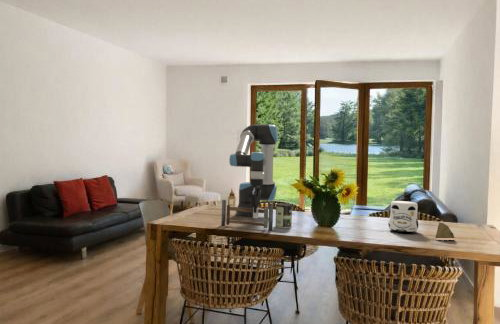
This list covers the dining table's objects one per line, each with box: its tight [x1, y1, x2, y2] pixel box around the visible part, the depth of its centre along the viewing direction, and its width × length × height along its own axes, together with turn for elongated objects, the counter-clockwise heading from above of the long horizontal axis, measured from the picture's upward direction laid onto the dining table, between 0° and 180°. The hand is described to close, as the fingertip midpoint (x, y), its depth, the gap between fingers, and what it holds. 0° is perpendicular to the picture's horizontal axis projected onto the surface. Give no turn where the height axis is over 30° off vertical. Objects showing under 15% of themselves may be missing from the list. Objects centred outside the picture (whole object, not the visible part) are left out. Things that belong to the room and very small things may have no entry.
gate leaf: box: [225, 204, 269, 229], centre depth 256 cm, size 2×26×12 cm, turn 72°
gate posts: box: [221, 199, 274, 231], centre depth 256 cm, size 2×32×16 cm, turn 72°
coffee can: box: [274, 202, 293, 229], centre depth 263 cm, size 10×10×14 cm
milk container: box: [387, 200, 419, 233], centre depth 260 cm, size 17×17×18 cm
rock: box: [435, 222, 455, 238], centre depth 238 cm, size 11×9×10 cm
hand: (255, 217), depth 250 cm, fingers closed
